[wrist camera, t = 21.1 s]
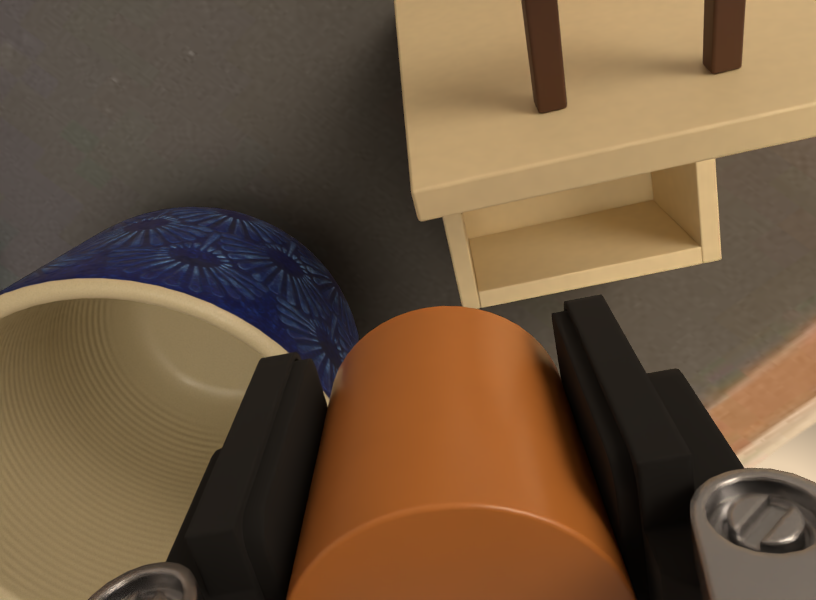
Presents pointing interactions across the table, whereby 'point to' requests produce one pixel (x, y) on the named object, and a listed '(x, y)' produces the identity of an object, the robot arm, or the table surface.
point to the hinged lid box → (586, 235)
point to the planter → (140, 384)
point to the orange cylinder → (453, 473)
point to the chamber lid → (593, 91)
